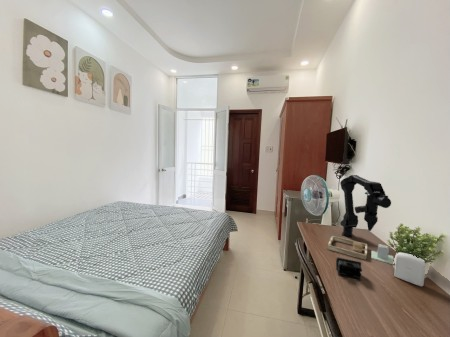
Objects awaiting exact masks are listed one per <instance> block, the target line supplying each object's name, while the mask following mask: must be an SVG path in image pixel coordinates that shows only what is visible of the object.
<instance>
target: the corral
mask: <svg viewBox="0 0 450 337" xmlns="http://www.w3.org/2000/svg"><path fill="white" fill-rule="evenodd" d="M334 241H335V242H340V243H343V244H348V245H350V246H351V245H352V246H353V242H358V243H361V244H362V249H363V248H364V253H362V252H358V251H354V250H350V249H345V248H342V247H338V246H334V245H332V244H333V242H334ZM326 249H327V250H329V251H332V252H336V253H340V254H342V255H347V256H350V257H354V258H357V259H362V260H364V261H366V260H367V254H368V244H367V243H365V242H359V241H358V240H357V241H356V240H352V239H347V238H344V237H339V236H335V235H331V237H330V238H329V241H328V243H327V247H326Z"/></svg>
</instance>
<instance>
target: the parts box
mask: <svg viewBox="0 0 450 337" xmlns="http://www.w3.org/2000/svg"><path fill="white" fill-rule="evenodd" d="M389 250H390V248H389V246H388V245H386V244H385V245H384V244H380V243H378V245H377V251H376V252H377V257H379V258H383V259H386V260H388V255H389V252H390V251H389Z"/></svg>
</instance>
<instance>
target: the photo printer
mask: <svg viewBox="0 0 450 337" xmlns="http://www.w3.org/2000/svg"><path fill="white" fill-rule="evenodd" d="M417 257H418V256H417ZM417 257H416V255H414V256H413V254H410V253H408V252H407V253H406V252H397V254H396V256H395V261H394V263H395V265H394V272H393V273H394V274H393V275H394V277H396V278H398V279H399V280H403V281H406V282H408V283H410V284H413V285H416V286H419V287H423V286H425V285H424V283H425V274H426V261H425V260H424V259H423V258H421V257H419V258H417Z"/></svg>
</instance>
